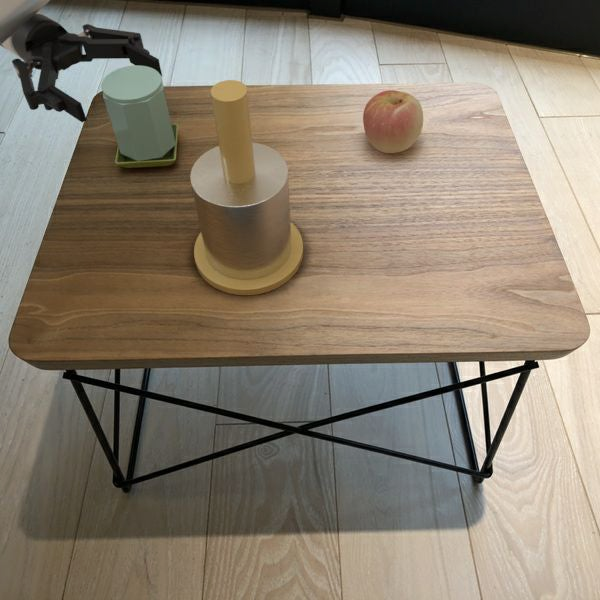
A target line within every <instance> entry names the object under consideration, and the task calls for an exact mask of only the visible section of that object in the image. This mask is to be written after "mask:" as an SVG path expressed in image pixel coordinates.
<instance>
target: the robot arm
mask: <svg viewBox="0 0 600 600" xmlns="http://www.w3.org/2000/svg"><path fill="white" fill-rule="evenodd" d="M50 1H51V0H0V47H2V48H4V49H6V50H7V51H9V52H10V53H12V54H13V55H15V56H16V57H17V58H14V59H12V60H11V63H12V65H13V68H14V70H15V73H16V75H17V77H18V78H19V79H20V85H21V88H22V93H23V96H24V98H25V100H26V102H27V105H28V107H29V109H30V110H32V111H35V110H38V109H39V107H40V105H43V107H44V109H45V110H46V111H52V110H54V111H55V112H59V113H61V112H63V111H64V112H65V113H67V114H69V115H70V116H72V117H73V118H74V119H76V120H78V121H79V122H80V123H84V122H86V121H87V116H86V114H85V112H84V111H85V110H84V108H83V105H82V102H80V101H79V100H77V99H76V98H74V97H72V96H70V95H69V94H68V93H66V92H65V91H63V90H61V89H60V88H58V87H56V82H57V80H58V79H59V75H60V74H59V73H60V71H66V70H67V69H69V68H70V67H72V66H74V65H76V64H78V63H89V62H92V61H93V60H96V59H98V60H101V59H105V60H107V59H108V60H110V59H113V60H114V59H115V60H117V59H119V60H121V59H128V61H129V63H130V64H132V65H133V66H135V65H139V66H147V67H151V68H153V69H155V70H156V71H158V72H159V74H160V75H161V77H163V74H162V68H161V65H160V60H159V58H157V57H155V56H154V55H152V54H150V51H149V50H148V49H146V48H144V43H143V38H142V35H141V33H140V32H134V31H126V30H118V29H111V28H105V27H96V26H94V25H93V24H89V23H86V24H83V25H82V29H83V31H81V32H80V33H78V34H77V33H73V32H72V33H71V32H69V31H68V30H67V29H65V27H63V25H62V24H60V22H57V21H56V20H53V19H52V18H51V17H48V16H46V15H45V14H43V13H41V12H40V10H42V8H44V7H45V6H46V5H47V4H49V2H50ZM83 51H84V53H85V54H84V53H83ZM33 69H35V70H39V71H40V74H39V77H38V78H39V79H38V83H37V90H35V85H34V81H33V79H32V78H33V72H34V70H33Z"/></svg>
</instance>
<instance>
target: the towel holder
mask: <svg viewBox="0 0 600 600" xmlns="http://www.w3.org/2000/svg"><path fill="white" fill-rule="evenodd" d="M248 92H249V91H248V87H247V85H246V84H245V83H243V82H242V81H239V80H236V79H227V80H221V81H219V82H217V83H215V84H214V85H213V86H212V87H211V89H210V96H211V103H212V110H213V116H214V123H215V129H216V136H217V142H218V145H217V146H214V147H213V148H211V149H208V150H207V151H206V152H204V153H203V154H201V156H199V158H197V159H196V161H195V162H194V164H193V165H192V167H191V170H190V175H189V179H190V185H191V190H192V195H193V199H194V205H195V209H196V214H197V218H198V223H199V229H200V232H199V234H198V236H197V237H196V241H195V243H194V247H193V257H194V258H193V259H194V263H195V266H196V269H197V271H198V274H199V275H200V276H201V277H202V279H204V281H205V282H206V283H207V284H209V285H210V286H211V287H213V288H215V290H216V289H217V290H219V291H221V292H223V293H227V294H230V295H237V296H255V295H261V294H264V293H265V294H266V293H269V292H271V291H274V290H276V289H278V288H280V287H281V286H284V285H285V284H286V283H288V282H289V281H290V280H291V279H292V278H293V277H294V276H295V275H296V273H297V272H298V270H299V269H300V267H301V265H302V262H303V259H304V242H303V238H302V234H301V233H300V232H301V231H299V229H298V227H296V225H295V224H294V223H293V222H292V221H291V205H290V182H289V181H290V180H289V167H288V163H287V162H286V159H285V158H284V156H283V155H282V154H280V152H279V151H277V150H275V149H274V148H272V147H270V146H268V145H266V144H263V143H258V142H254V141H253V135H252V125H251V113H250V112H251V111H250V101H249V93H248Z"/></svg>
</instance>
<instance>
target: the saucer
mask: <svg viewBox="0 0 600 600" xmlns="http://www.w3.org/2000/svg"><path fill="white" fill-rule="evenodd" d="M172 127H173V132H174V137H175V142H176V145H175V146H174V147H173V148H172V149H170V150H169V151H168V152H167V153H166V154H165V155H164V156H163V157H161V158H155V159H149V160H143V161H137V160H134V159H132V158H130V157H127V156H125V155H123V154H121V153H120V149H119V146H118V145H117V148H116V155H115V160H114V163H115V164H116V165H118V166H120V167H122V168H127V169H135V168H138V169H139V168H152V167H153V168H154V167H169V166H171V165H173V164H174V163H175V162H176V159H177V150H178V149H177V148H178V136H179V124H178V123H172Z"/></svg>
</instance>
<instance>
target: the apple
mask: <svg viewBox="0 0 600 600" xmlns="http://www.w3.org/2000/svg"><path fill="white" fill-rule="evenodd" d="M362 123H363V124H362V125H363V130H364V133H365V136H366V138H367V140H368V142H369V143H370V144H371V146H373V148H375V150H377V151H379V152H381V153H384V154H396V153H400V152H401V153H402V152H404V151H407V150H408V149H410V148H411V147H412V146H413V145H414V144H415V143H416V142H417V141H418V139H419V138H420V135H421V133H422V130H423V126H424V110H423V107H422V105H421V102H420V101H419V100H418V98H416V97H415V96H414V95H412V94H410V93H407V92H405V91H399V90H393V89H389V90H384V91H381V92H379V93H377V94H375V95H373V96H372V97H371V98H370V99H369V100H368V101H367V103H366V104H365V107H364V109H363V113H362Z"/></svg>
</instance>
